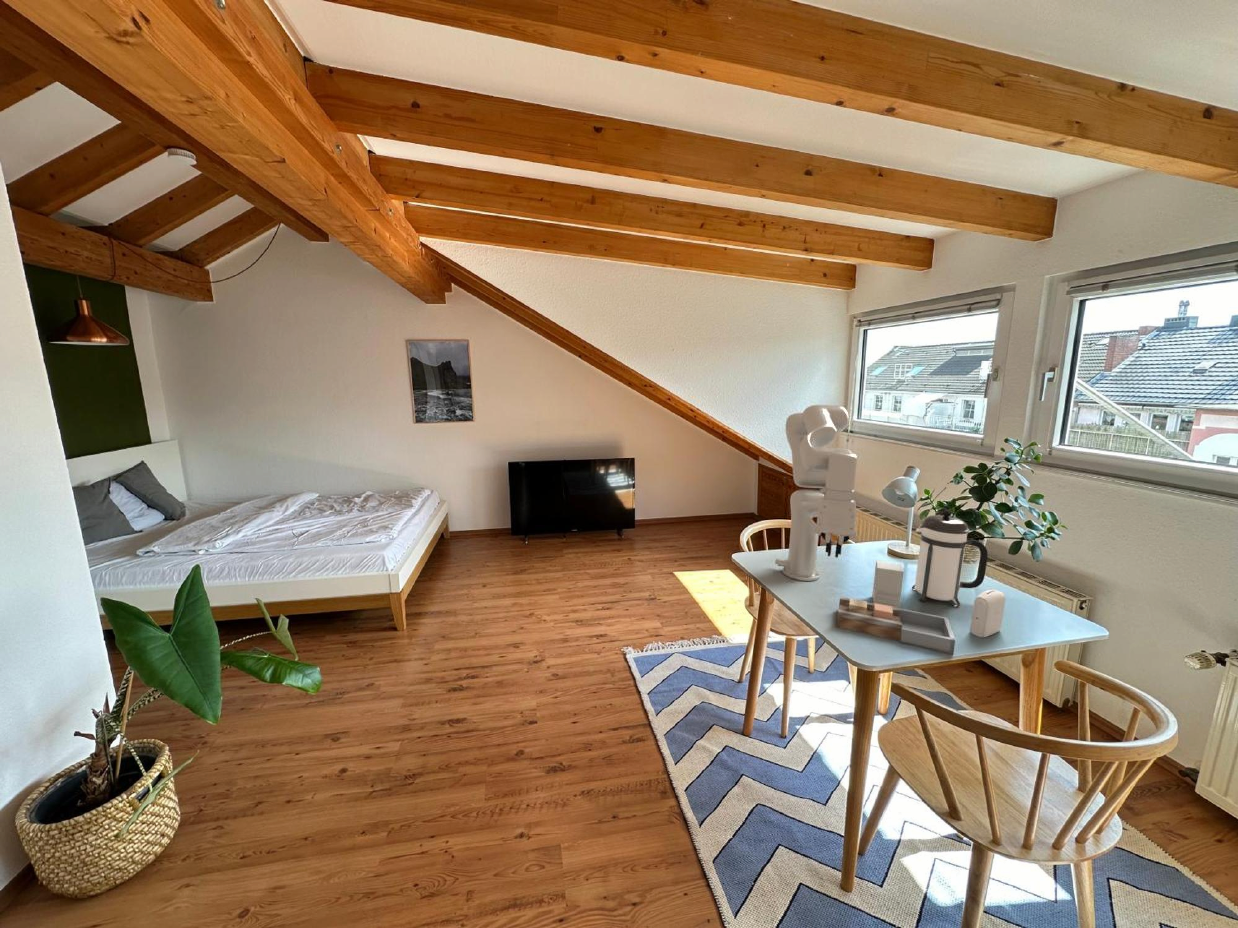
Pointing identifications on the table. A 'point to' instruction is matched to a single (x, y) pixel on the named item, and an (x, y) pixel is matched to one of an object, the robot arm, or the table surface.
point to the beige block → (858, 606)
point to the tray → (926, 631)
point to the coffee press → (945, 558)
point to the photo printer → (987, 613)
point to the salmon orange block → (883, 611)
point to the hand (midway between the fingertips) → (832, 555)
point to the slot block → (869, 621)
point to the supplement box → (887, 584)
